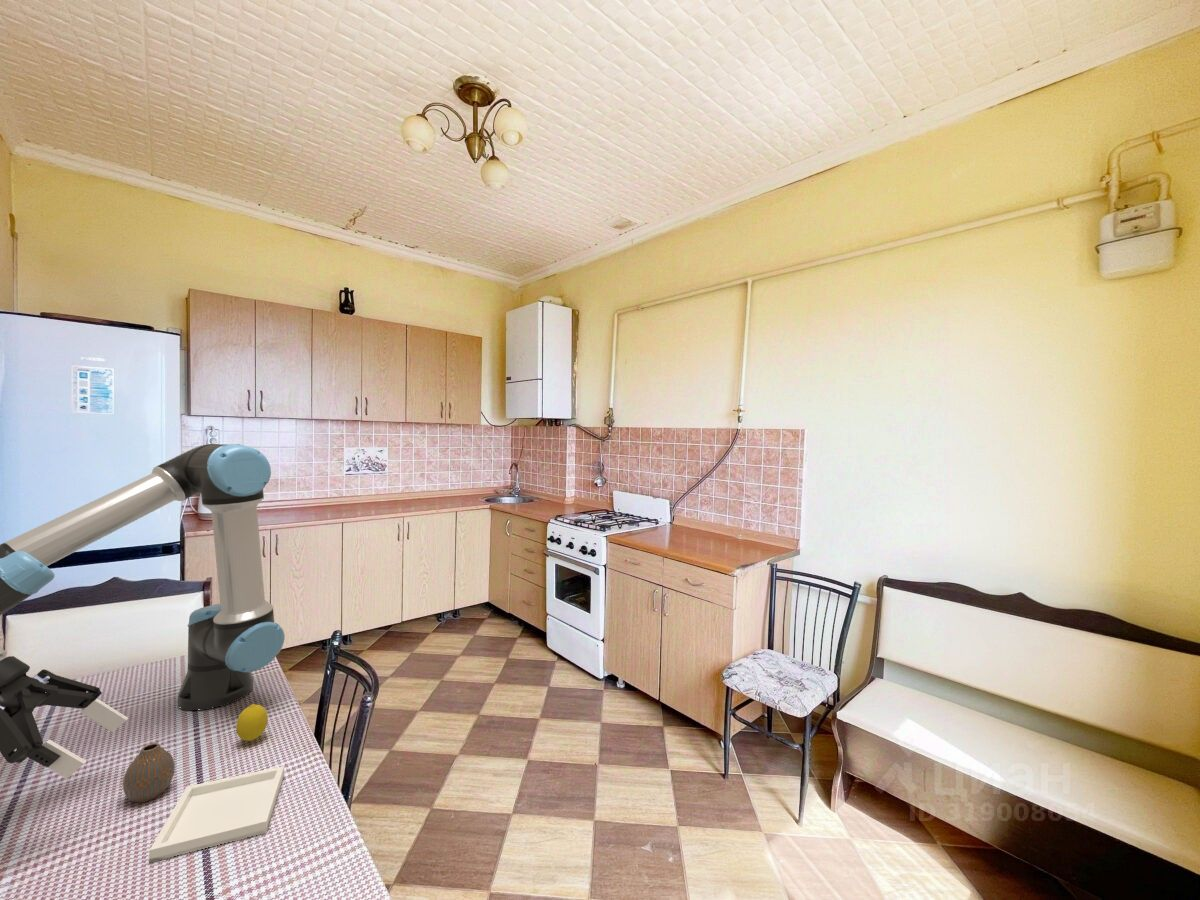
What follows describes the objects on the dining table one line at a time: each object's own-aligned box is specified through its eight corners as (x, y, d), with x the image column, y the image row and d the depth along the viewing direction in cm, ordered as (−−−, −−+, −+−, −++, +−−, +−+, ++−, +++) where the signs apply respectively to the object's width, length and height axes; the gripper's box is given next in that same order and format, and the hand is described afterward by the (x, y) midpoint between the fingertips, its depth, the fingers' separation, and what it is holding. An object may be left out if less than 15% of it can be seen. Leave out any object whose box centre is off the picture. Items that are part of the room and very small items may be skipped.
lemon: (250, 750, 100) (251, 713, 100) (229, 747, 101) (230, 709, 101) (273, 735, 106) (274, 699, 106) (252, 732, 107) (253, 696, 107)
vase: (129, 814, 82) (130, 764, 82) (117, 798, 86) (118, 749, 86) (180, 790, 88) (181, 743, 88) (166, 776, 92) (167, 731, 92)
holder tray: (186, 797, 87) (186, 786, 87) (283, 776, 93) (284, 765, 93) (149, 863, 73) (149, 850, 73) (266, 833, 79) (266, 821, 79)
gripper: (13, 661, 88) (117, 726, 94) (-119, 736, 65) (30, 815, 71) (53, 629, 90) (152, 694, 96) (-61, 691, 68) (79, 771, 74)
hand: (100, 745), depth 84 cm, fingers open, 13 cm apart
